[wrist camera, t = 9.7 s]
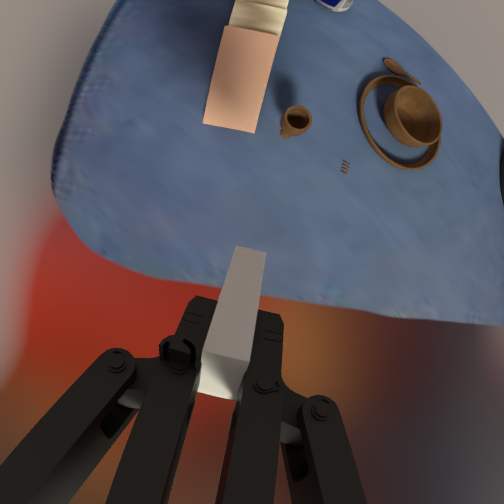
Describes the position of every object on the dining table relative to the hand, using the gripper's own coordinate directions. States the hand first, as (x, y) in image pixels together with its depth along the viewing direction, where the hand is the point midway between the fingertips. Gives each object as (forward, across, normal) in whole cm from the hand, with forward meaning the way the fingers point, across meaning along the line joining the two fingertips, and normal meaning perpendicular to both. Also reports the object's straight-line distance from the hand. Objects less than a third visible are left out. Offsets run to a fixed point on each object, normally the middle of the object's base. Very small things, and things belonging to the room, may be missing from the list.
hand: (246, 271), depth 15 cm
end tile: (+16, -5, +5) cm, 17 cm away
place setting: (+22, +9, +10) cm, 26 cm away
